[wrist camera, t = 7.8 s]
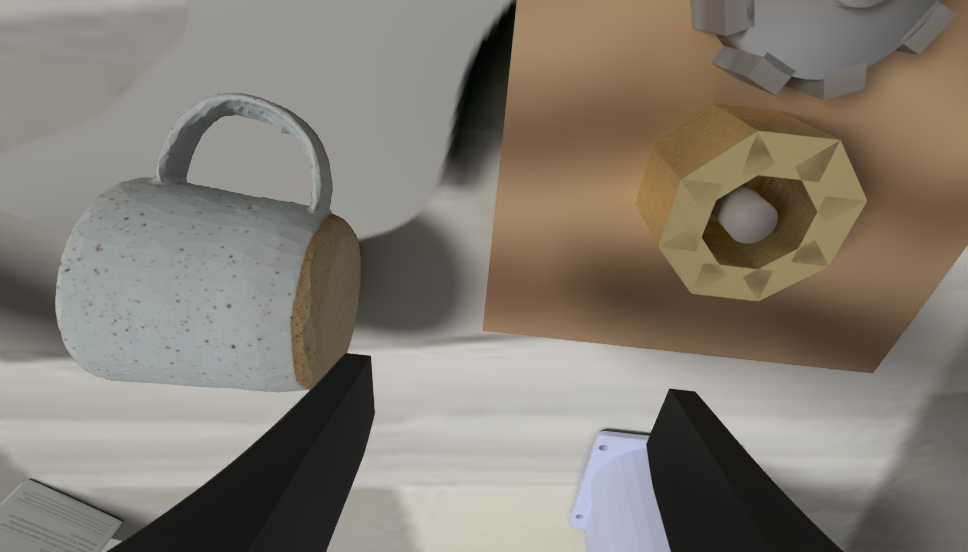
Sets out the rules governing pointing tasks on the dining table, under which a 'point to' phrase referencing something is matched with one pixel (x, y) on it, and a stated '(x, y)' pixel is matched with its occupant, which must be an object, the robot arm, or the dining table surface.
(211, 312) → the ceramic mug
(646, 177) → the wooden octagonal nut
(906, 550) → the dining table surface
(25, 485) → the supplement box
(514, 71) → the board
